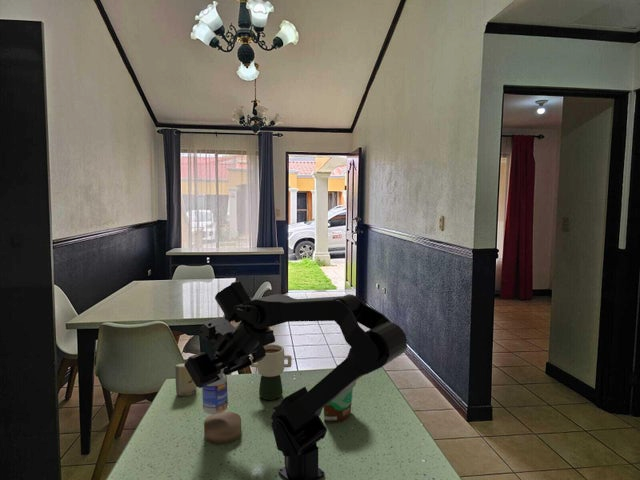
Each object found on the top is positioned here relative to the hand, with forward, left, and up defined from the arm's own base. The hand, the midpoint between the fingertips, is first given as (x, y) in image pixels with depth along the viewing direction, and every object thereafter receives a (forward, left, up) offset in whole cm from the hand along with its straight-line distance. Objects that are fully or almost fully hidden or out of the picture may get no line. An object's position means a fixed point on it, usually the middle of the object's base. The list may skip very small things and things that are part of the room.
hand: (210, 378), depth 93 cm
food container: (-14, -27, -12) cm, 33 cm away
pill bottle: (-2, 0, -7) cm, 7 cm away
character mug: (+5, -19, -12) cm, 23 cm away
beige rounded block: (+21, -3, -12) cm, 24 cm away
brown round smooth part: (-3, -1, -12) cm, 12 cm away
